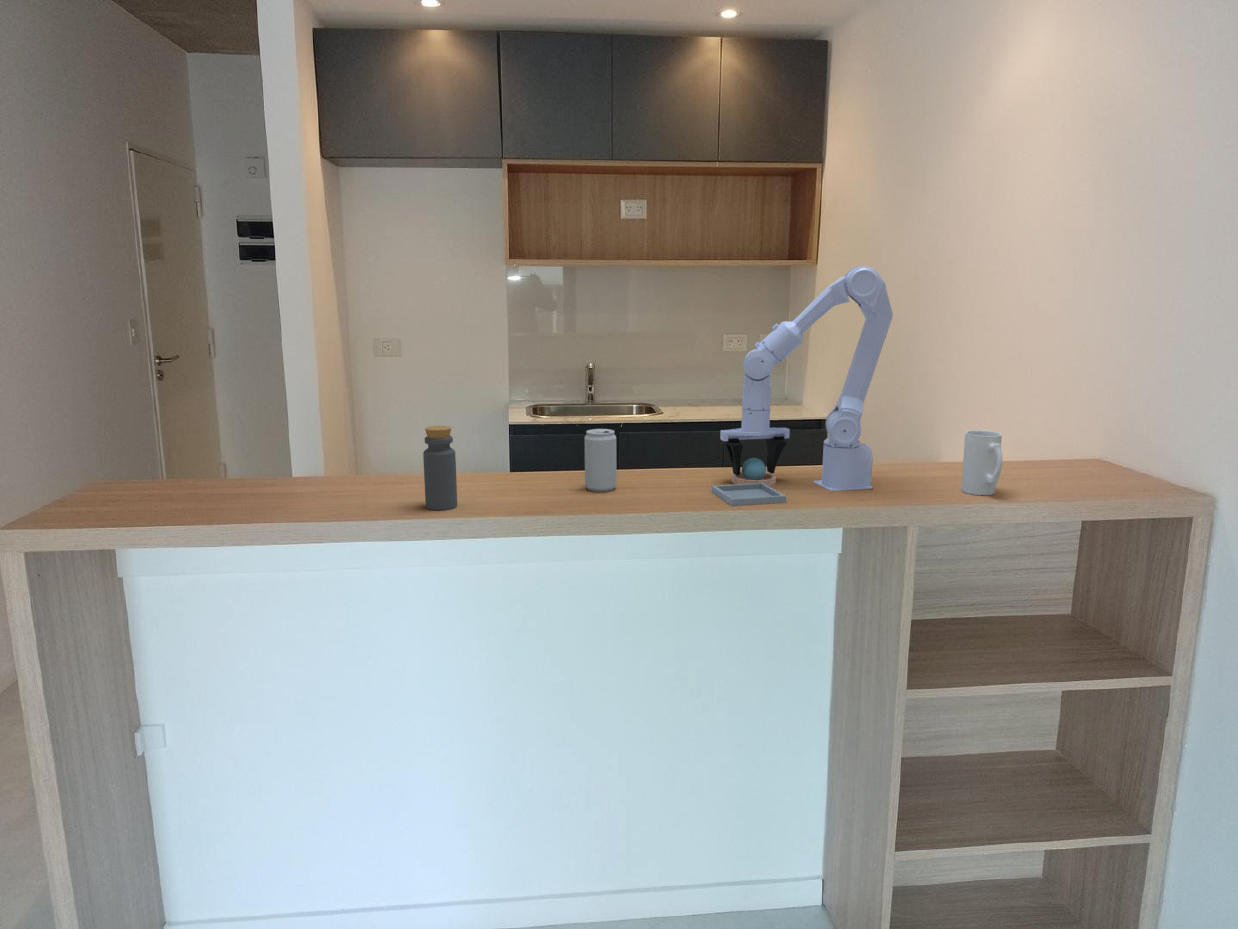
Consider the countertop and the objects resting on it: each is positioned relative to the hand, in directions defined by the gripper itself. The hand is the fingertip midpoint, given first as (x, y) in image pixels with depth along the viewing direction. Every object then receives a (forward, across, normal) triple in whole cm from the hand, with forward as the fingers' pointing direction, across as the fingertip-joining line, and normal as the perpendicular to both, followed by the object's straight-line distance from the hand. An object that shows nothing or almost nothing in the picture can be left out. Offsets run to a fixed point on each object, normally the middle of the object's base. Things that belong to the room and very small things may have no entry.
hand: (753, 473), depth 180 cm
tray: (+2, +6, +12) cm, 13 cm away
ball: (+2, 0, 0) cm, 2 cm away
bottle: (+2, +64, +3) cm, 64 cm away
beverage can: (+2, +32, -3) cm, 32 cm away
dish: (+2, 0, 0) cm, 2 cm away
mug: (+2, -41, +19) cm, 45 cm away
